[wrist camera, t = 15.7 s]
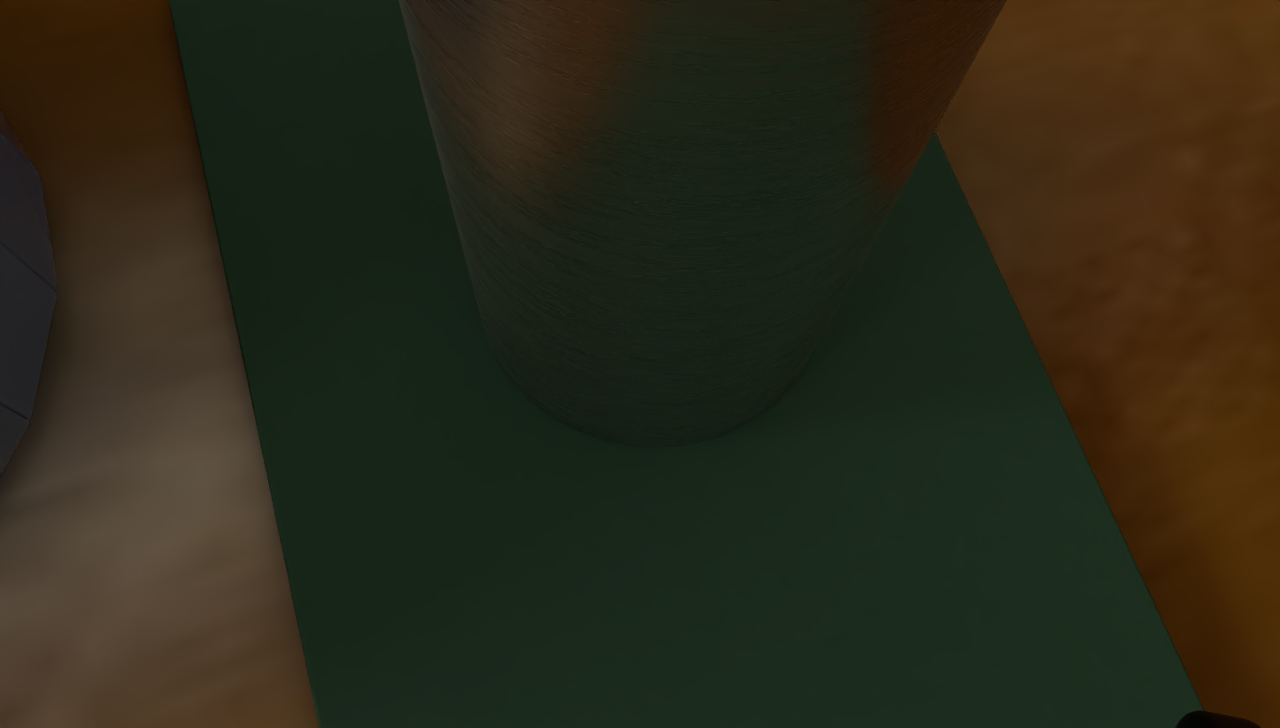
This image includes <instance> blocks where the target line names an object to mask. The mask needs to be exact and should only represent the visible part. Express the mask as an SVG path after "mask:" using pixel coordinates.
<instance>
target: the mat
mask: <svg viewBox="0 0 1280 728" xmlns="http://www.w3.org/2000/svg"><path fill="white" fill-rule="evenodd" d="M169 5H170V10H171V15H172V20H173V25H174V29H175V34H176V39H177V44H178V49H179V53H180V58H181V63H182V68H183V73H184V78H185V82H186V87H187V92H188V97H189V102H190V107H191V111H192V116H193V121H194V126H195V131H196V135H197V140H198V145H199V150H200V155H201V160H202V164H203V169H204V174H205V179H206V184H207V188H208V193H209V198H210V203H211V208H212V213H213V217H214V222H215V227H216V232H217V237H218V242H219V246H220V251H221V256H222V261H223V266H224V270H225V275H226V280H227V285H228V290H229V295H230V299H231V304H232V309H233V314H234V319H235V324H236V328H237V333H238V338H239V343H240V348H241V352H242V357H243V362H244V367H245V372H246V377H247V381H248V386H249V391H250V396H251V401H252V405H253V410H254V415H255V420H256V425H257V430H258V434H259V439H260V444H261V449H262V454H263V459H264V463H265V468H266V473H267V478H268V483H269V487H270V492H271V497H272V502H273V507H274V512H275V516H276V521H277V526H278V531H279V536H280V541H281V545H282V550H283V555H284V560H285V565H286V569H287V574H288V579H289V584H290V589H291V594H292V598H293V603H294V608H295V613H296V618H297V622H298V627H299V632H300V637H301V642H302V647H303V651H304V656H305V661H306V666H307V671H308V676H309V680H310V685H311V690H312V695H313V700H314V704H315V709H316V714H317V719H318V724H319V728H1175V727H1176V726H1177V724H1178V722H1179V721H1180V719H1181V718H1182V717H1184V716H1185V715H1186V714H1187V713H1189V712H1193V711H1197V710H1198V711H1204V709H1203V706H1202V704H1201V702H1200V700H1199V698H1198V696H1197V694H1196V691H1195V689H1194V687H1193V685H1192V683H1191V681H1190V678H1189V676H1188V674H1187V672H1186V670H1185V668H1184V666H1183V663H1182V661H1181V659H1180V657H1179V655H1178V653H1177V651H1176V648H1175V646H1174V644H1173V642H1172V640H1171V638H1170V636H1169V633H1168V631H1167V629H1166V627H1165V625H1164V623H1163V621H1162V618H1161V616H1160V614H1159V612H1158V610H1157V608H1156V606H1155V603H1154V601H1153V599H1152V597H1151V595H1150V593H1149V590H1148V588H1147V586H1146V584H1145V582H1144V580H1143V578H1142V575H1141V573H1140V571H1139V569H1138V567H1137V565H1136V563H1135V560H1134V558H1133V556H1132V554H1131V552H1130V550H1129V548H1128V545H1127V543H1126V541H1125V539H1124V537H1123V535H1122V533H1121V530H1120V528H1119V526H1118V524H1117V522H1116V520H1115V517H1114V515H1113V513H1112V511H1111V509H1110V507H1109V505H1108V502H1107V500H1106V498H1105V496H1104V494H1103V492H1102V490H1101V487H1100V485H1099V483H1098V481H1097V479H1096V477H1095V475H1094V472H1093V470H1092V468H1091V466H1090V464H1089V462H1088V460H1087V457H1086V455H1085V453H1084V451H1083V449H1082V447H1081V445H1080V442H1079V440H1078V438H1077V436H1076V434H1075V432H1074V429H1073V427H1072V425H1071V423H1070V421H1069V419H1068V417H1067V414H1066V412H1065V410H1064V408H1063V406H1062V404H1061V402H1060V399H1059V397H1058V395H1057V393H1056V391H1055V389H1054V387H1053V384H1052V382H1051V380H1050V378H1049V376H1048V374H1047V372H1046V369H1045V367H1044V365H1043V363H1042V361H1041V359H1040V356H1039V354H1038V352H1037V350H1036V348H1035V346H1034V344H1033V341H1032V339H1031V337H1030V335H1029V333H1028V331H1027V329H1026V326H1025V324H1024V322H1023V320H1022V318H1021V316H1020V314H1019V311H1018V309H1017V307H1016V305H1015V303H1014V301H1013V299H1012V296H1011V294H1010V292H1009V290H1008V288H1007V286H1006V283H1005V281H1004V279H1003V277H1002V275H1001V273H1000V271H999V268H998V266H997V264H996V262H995V260H994V258H993V256H992V253H991V251H990V249H989V247H988V245H987V243H986V241H985V238H984V236H983V234H982V232H981V230H980V228H979V226H978V223H977V221H976V219H975V217H974V215H973V213H972V211H971V208H970V206H969V204H968V202H967V200H966V198H965V195H964V193H963V191H962V189H961V187H960V185H959V183H958V180H957V178H956V176H955V174H954V172H953V170H952V168H951V165H950V163H949V161H948V159H947V157H946V155H945V153H944V150H943V148H942V146H941V144H940V142H939V140H938V138H937V135H936V133H935V131H934V133H933V135H932V137H931V138H930V140H929V142H928V144H927V146H926V148H925V149H924V151H923V153H922V155H921V157H920V158H919V160H918V162H917V164H916V166H915V167H914V169H913V171H912V173H911V175H910V177H909V178H908V180H907V182H906V184H905V186H904V187H903V189H902V191H901V193H900V195H899V196H898V198H897V200H896V202H895V204H894V206H893V207H892V209H891V211H890V213H889V215H888V216H887V218H886V220H885V222H884V224H883V226H882V227H881V229H880V231H879V233H878V235H877V236H876V238H875V240H874V242H873V244H872V245H871V247H870V249H869V251H868V253H867V255H866V256H865V258H864V260H863V262H862V264H861V265H860V267H859V269H858V271H857V273H856V274H855V276H854V278H853V280H852V282H851V284H850V285H849V287H848V289H847V291H846V293H845V294H844V296H843V298H842V300H841V302H840V303H839V305H838V307H837V309H836V311H835V313H834V314H833V316H832V318H831V320H830V322H829V323H828V325H827V327H826V329H825V331H824V333H823V334H822V336H821V338H820V340H819V342H818V343H817V345H816V347H815V349H814V351H813V352H812V354H811V356H810V358H809V360H808V362H807V363H806V365H805V367H804V369H803V371H802V372H801V373H800V375H799V376H798V377H797V379H796V380H795V381H794V383H793V384H792V385H791V387H790V388H789V389H788V390H787V391H786V392H785V393H784V394H783V395H782V396H781V397H780V398H779V399H778V400H777V401H776V402H775V403H774V404H773V405H772V406H770V407H769V408H768V409H766V410H765V411H764V412H762V413H761V414H760V415H758V416H757V417H756V418H754V419H752V420H751V421H749V422H747V423H745V424H744V425H742V426H740V427H738V428H736V429H734V430H732V431H729V432H727V433H725V434H722V435H720V436H717V437H715V438H711V439H707V440H704V441H700V442H696V443H692V444H685V445H677V446H669V447H641V446H633V445H625V444H618V443H614V442H610V441H607V440H603V439H599V438H595V437H593V436H590V435H588V434H585V433H583V432H580V431H578V430H575V429H573V428H571V427H569V426H567V425H566V424H564V423H562V422H560V421H559V420H557V419H555V418H553V417H552V416H550V415H549V414H548V413H546V412H545V411H544V410H542V409H541V408H540V407H538V406H537V405H536V404H534V403H533V402H532V401H531V400H530V399H529V398H528V397H527V396H526V395H525V394H524V393H523V392H522V391H521V390H520V389H519V388H518V387H517V386H516V385H515V384H514V382H513V381H512V380H511V379H510V377H509V376H508V375H507V373H506V372H505V371H504V370H503V368H502V366H501V365H500V363H499V361H498V359H497V358H496V356H495V354H494V352H493V351H492V349H491V346H490V344H489V341H488V339H487V336H486V334H485V331H484V329H483V325H482V321H481V317H480V313H479V310H478V306H477V302H476V298H475V294H474V290H473V286H472V282H471V279H470V275H469V271H468V267H467V263H466V259H465V255H464V251H463V248H462V244H461V240H460V236H459V232H458V228H457V224H456V221H455V217H454V213H453V209H452V205H451V201H450V197H449V193H448V190H447V186H446V182H445V178H444V174H443V170H442V166H441V162H440V159H439V155H438V151H437V147H436V143H435V139H434V135H433V131H432V128H431V124H430V120H429V116H428V112H427V108H426V104H425V101H424V97H423V93H422V89H421V85H420V81H419V77H418V73H417V70H416V66H415V62H414V58H413V54H412V50H411V46H410V42H409V39H408V35H407V31H406V27H405V23H404V19H403V15H402V11H401V8H400V4H399V0H169Z"/></svg>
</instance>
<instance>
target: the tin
mask: <svg viewBox="0 0 1280 728" xmlns="http://www.w3.org/2000/svg"><path fill="white" fill-rule="evenodd" d="M1006 1H1007V0H399V4H400V8H401V11H402V15H403V19H404V23H405V27H406V31H407V35H408V39H409V42H410V46H411V50H412V54H413V58H414V62H415V66H416V70H417V73H418V77H419V81H420V85H421V89H422V93H423V97H424V101H425V104H426V108H427V112H428V116H429V120H430V124H431V128H432V131H433V135H434V139H435V143H436V147H437V151H438V155H439V159H440V162H441V166H442V170H443V174H444V178H445V182H446V186H447V190H448V193H449V197H450V201H451V205H452V209H453V213H454V217H455V221H456V224H457V228H458V232H459V236H460V240H461V244H462V248H463V251H464V255H465V259H466V263H467V267H468V271H469V275H470V279H471V282H472V286H473V290H474V294H475V298H476V302H477V306H478V310H479V313H480V317H481V321H482V325H483V329H484V331H485V334H486V336H487V339H488V341H489V344H490V346H491V349H492V351H493V352H494V354H495V356H496V358H497V359H498V361H499V363H500V365H501V366H502V368H503V370H504V371H505V372H506V373H507V375H508V376H509V377H510V379H511V380H512V381H513V382H514V384H515V385H516V386H517V387H518V388H519V389H520V390H521V391H522V392H523V393H524V394H525V395H526V396H527V397H528V398H529V399H530V400H531V401H532V402H533V403H534V404H536V405H537V406H538V407H540V408H541V409H542V410H544V411H545V412H546V413H548V414H549V415H550V416H552V417H553V418H555V419H557V420H559V421H560V422H562V423H564V424H566V425H567V426H569V427H571V428H573V429H575V430H578V431H580V432H583V433H585V434H588V435H590V436H593V437H595V438H599V439H603V440H607V441H610V442H614V443H618V444H625V445H633V446H641V447H669V446H677V445H685V444H692V443H696V442H700V441H704V440H707V439H711V438H715V437H717V436H720V435H722V434H725V433H727V432H729V431H732V430H734V429H736V428H738V427H740V426H742V425H744V424H745V423H747V422H749V421H751V420H752V419H754V418H756V417H757V416H758V415H760V414H761V413H762V412H764V411H765V410H766V409H768V408H769V407H770V406H772V405H773V404H774V403H775V402H776V401H777V400H778V399H779V398H780V397H781V396H782V395H783V394H784V393H785V392H786V391H787V390H788V389H789V388H790V387H791V385H792V384H793V383H794V381H795V380H796V379H797V377H798V376H799V375H800V373H801V372H802V371H803V369H804V367H805V365H806V363H807V362H808V360H809V358H810V356H811V354H812V352H813V351H814V349H815V347H816V345H817V343H818V342H819V340H820V338H821V336H822V334H823V333H824V331H825V329H826V327H827V325H828V323H829V322H830V320H831V318H832V316H833V314H834V313H835V311H836V309H837V307H838V305H839V303H840V302H841V300H842V298H843V296H844V294H845V293H846V291H847V289H848V287H849V285H850V284H851V282H852V280H853V278H854V276H855V274H856V273H857V271H858V269H859V267H860V265H861V264H862V262H863V260H864V258H865V256H866V255H867V253H868V251H869V249H870V247H871V245H872V244H873V242H874V240H875V238H876V236H877V235H878V233H879V231H880V229H881V227H882V226H883V224H884V222H885V220H886V218H887V216H888V215H889V213H890V211H891V209H892V207H893V206H894V204H895V202H896V200H897V198H898V196H899V195H900V193H901V191H902V189H903V187H904V186H905V184H906V182H907V180H908V178H909V177H910V175H911V173H912V171H913V169H914V167H915V166H916V164H917V162H918V160H919V158H920V157H921V155H922V153H923V151H924V149H925V148H926V146H927V144H928V142H929V140H930V138H931V137H932V135H933V133H934V131H935V129H936V128H937V126H938V124H939V122H940V120H941V119H942V117H943V115H944V113H945V111H946V109H947V108H948V106H949V104H950V102H951V100H952V99H953V97H954V95H955V93H956V91H957V89H958V88H959V86H960V84H961V82H962V80H963V79H964V77H965V75H966V73H967V71H968V70H969V68H970V66H971V64H972V62H973V60H974V59H975V57H976V55H977V53H978V51H979V50H980V48H981V46H982V44H983V42H984V41H985V39H986V37H987V35H988V33H989V31H990V30H991V28H992V26H993V24H994V22H995V21H996V19H997V17H998V15H999V13H1000V12H1001V10H1002V8H1003V6H1004V4H1005V2H1006Z"/></svg>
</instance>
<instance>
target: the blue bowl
mask: <svg viewBox="0 0 1280 728" xmlns="http://www.w3.org/2000/svg"><path fill="white" fill-rule="evenodd" d="M57 288H58V286H57V279H56V273H55V266H54V260H53V253H52V246H51V240H50V233H49V226H48V220H47V213H46V207H45V200H44V193H43V187H42V180H41V177H40V176H39V175H38V173H37V168H36V167H35V165H34V163H33V162H32V160H31V159H30V157H29V155H28V154H27V152H26V150H25V149H24V147H23V145H22V144H21V142H20V140H19V139H18V137H17V135H16V134H15V132H14V130H13V129H12V127H11V125H10V124H9V122H8V120H7V119H6V117H5V115H4V114H3V112H2V111H1V109H0V476H1V474H2V472H3V470H4V468H5V467H6V465H7V463H8V461H9V460H10V458H11V456H12V454H13V452H14V451H15V449H16V447H17V445H18V443H19V442H20V440H21V438H22V436H23V434H24V433H25V431H26V429H27V427H28V425H29V421H28V419H31V417H32V413H33V408H34V403H35V399H36V394H37V389H38V384H39V380H40V375H41V370H42V365H43V360H44V356H45V351H46V346H47V341H48V336H49V332H50V327H51V322H52V317H53V313H54V308H55V303H56V298H57V292H56V290H57Z"/></svg>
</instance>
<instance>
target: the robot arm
mask: <svg viewBox="0 0 1280 728" xmlns="http://www.w3.org/2000/svg"><path fill="white" fill-rule="evenodd" d="M1175 728H1261V727H1260V726H1258V725H1257V724H1255V723H1253V722H1251V721H1249V720H1246V719H1242V718H1237V717H1232V716H1227V715H1222V714H1216V713H1211V712H1206V711H1198V710H1197V711H1193V712H1189V713H1187V714H1186V715H1185V716H1184V717H1182V718H1181V719H1180V721H1179V722H1178V724H1177V726H1176V727H1175Z"/></svg>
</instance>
